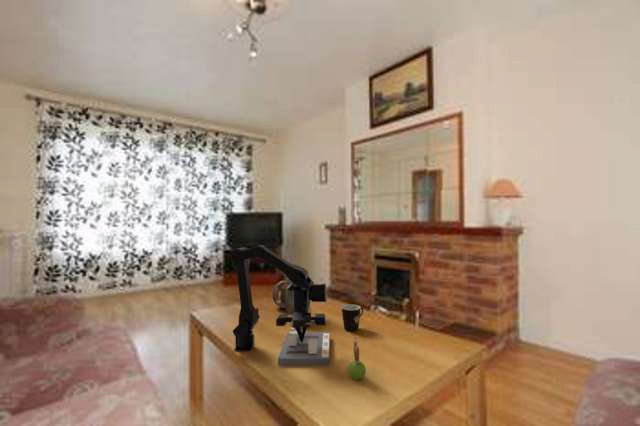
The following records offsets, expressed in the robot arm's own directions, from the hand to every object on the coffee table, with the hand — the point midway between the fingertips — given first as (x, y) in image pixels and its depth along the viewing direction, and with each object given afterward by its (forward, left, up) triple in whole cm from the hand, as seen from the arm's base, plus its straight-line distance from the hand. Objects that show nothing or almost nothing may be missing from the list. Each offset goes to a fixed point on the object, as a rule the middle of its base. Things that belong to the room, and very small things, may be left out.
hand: (301, 341), depth 126 cm
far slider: (-3, +7, -1) cm, 8 cm away
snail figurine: (+20, -20, -4) cm, 28 cm away
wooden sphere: (-14, +56, -4) cm, 58 cm away
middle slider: (-3, 0, -1) cm, 4 cm away
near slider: (+5, -7, -1) cm, 8 cm away
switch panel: (+2, 0, -4) cm, 4 cm away
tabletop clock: (-5, +37, -4) cm, 38 cm away
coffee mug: (+22, +23, -4) cm, 32 cm away
